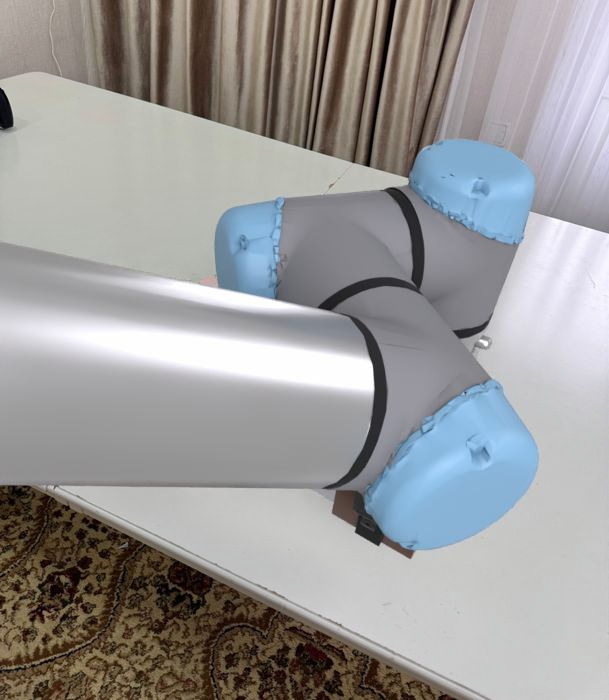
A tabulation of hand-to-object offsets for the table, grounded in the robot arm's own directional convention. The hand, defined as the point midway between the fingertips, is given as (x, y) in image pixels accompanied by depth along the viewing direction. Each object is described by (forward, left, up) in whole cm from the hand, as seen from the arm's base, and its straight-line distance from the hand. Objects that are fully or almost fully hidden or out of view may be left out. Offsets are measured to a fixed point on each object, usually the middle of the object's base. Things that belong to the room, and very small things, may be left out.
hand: (376, 523), depth 63 cm
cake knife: (0, +8, 0) cm, 8 cm away
